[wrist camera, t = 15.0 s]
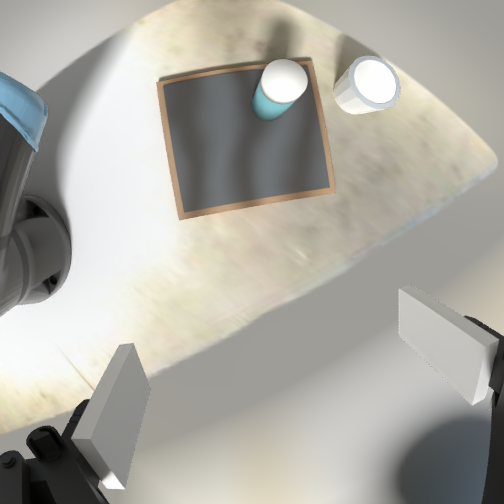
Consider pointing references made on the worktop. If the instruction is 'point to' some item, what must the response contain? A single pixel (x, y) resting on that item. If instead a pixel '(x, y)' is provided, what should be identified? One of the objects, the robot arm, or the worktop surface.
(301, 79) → the teal bottle
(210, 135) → the slate board
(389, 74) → the white tapered cup
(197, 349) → the worktop surface
